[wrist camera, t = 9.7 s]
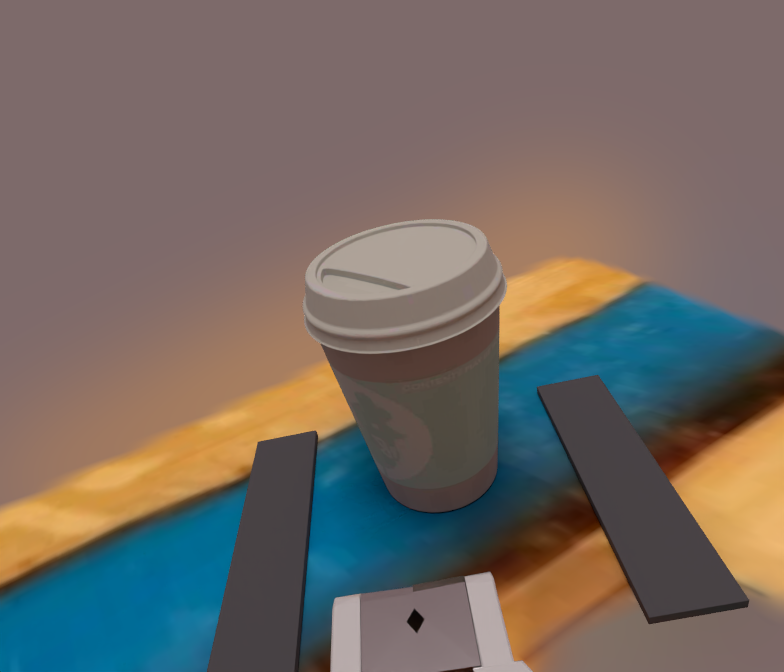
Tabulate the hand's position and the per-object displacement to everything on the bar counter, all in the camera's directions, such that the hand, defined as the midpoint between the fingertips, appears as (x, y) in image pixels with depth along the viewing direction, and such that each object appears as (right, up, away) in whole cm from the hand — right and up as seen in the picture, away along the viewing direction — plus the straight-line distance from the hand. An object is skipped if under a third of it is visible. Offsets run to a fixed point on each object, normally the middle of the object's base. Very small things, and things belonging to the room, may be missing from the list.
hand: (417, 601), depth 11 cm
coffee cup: (+2, -2, +18) cm, 18 cm away
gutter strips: (+2, -3, +16) cm, 16 cm away
